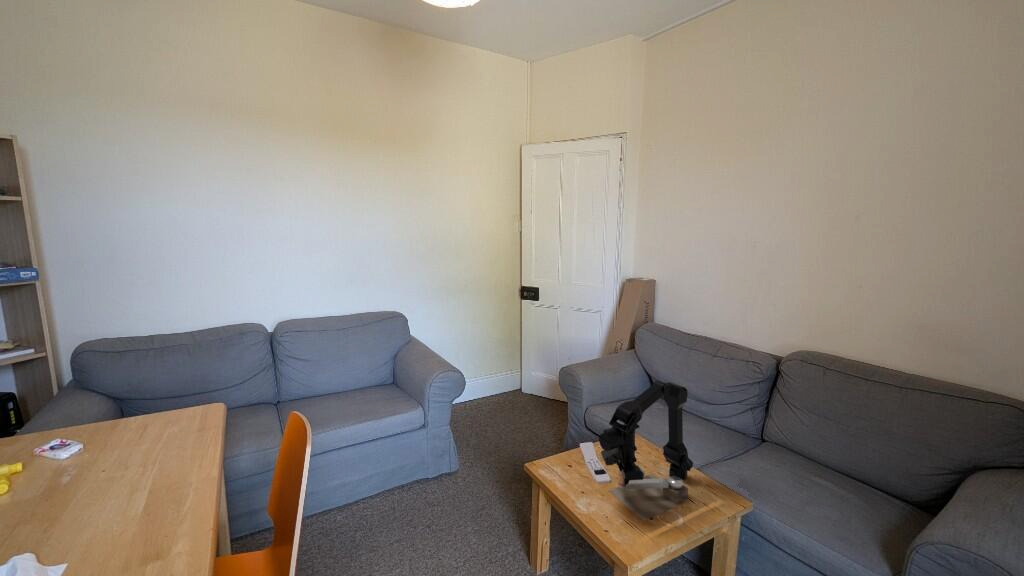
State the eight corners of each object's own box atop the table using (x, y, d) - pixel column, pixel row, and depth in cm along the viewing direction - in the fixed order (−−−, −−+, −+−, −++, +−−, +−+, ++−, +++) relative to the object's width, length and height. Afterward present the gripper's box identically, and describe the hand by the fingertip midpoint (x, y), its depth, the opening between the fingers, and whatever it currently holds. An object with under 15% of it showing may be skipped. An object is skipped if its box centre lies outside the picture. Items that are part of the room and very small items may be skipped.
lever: (679, 480, 151) (679, 465, 150) (685, 489, 146) (685, 473, 145) (616, 482, 151) (616, 467, 150) (620, 491, 146) (620, 475, 145)
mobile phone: (592, 441, 180) (613, 474, 156) (592, 454, 181) (613, 489, 157) (578, 442, 180) (598, 476, 155) (578, 455, 180) (598, 491, 156)
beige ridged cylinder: (638, 480, 159) (639, 465, 158) (646, 486, 155) (646, 471, 155) (630, 483, 157) (631, 468, 156) (638, 489, 154) (638, 474, 153)
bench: (651, 477, 163) (652, 464, 162) (689, 503, 147) (690, 489, 147) (607, 494, 153) (608, 481, 152) (643, 525, 137) (644, 509, 137)
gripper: (597, 430, 152) (596, 469, 154) (610, 457, 133) (609, 501, 135) (627, 429, 152) (626, 468, 154) (644, 455, 134) (643, 500, 136)
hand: (625, 484), depth 145 cm, fingers closed
